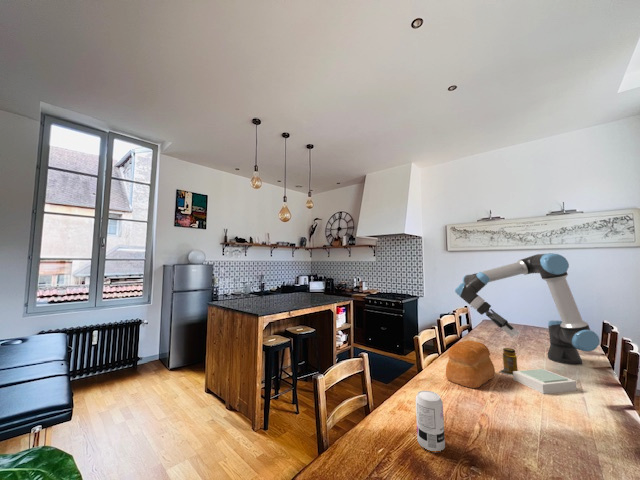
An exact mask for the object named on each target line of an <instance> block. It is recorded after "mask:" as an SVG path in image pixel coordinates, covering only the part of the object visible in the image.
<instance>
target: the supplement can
mask: <svg viewBox="0 0 640 480" xmlns="http://www.w3.org/2000/svg"><path fill="white" fill-rule="evenodd" d="M415 416H416V435H417V440H416V441H417V442H418V444H419V445H420V447H421V448H423V447H424V448H425V449H427V450H430V451H440V452H442V451H443V450H445V448H446V439H445V438H446V437H445V421H444V420H445V418H444V402H443V400H442V398H441V396H440V394H438V393H437V392H434V391H431V390H420V391H418V392H417V394H416V396H415ZM424 448H423V449H424ZM425 449H424V450H425ZM427 450H426V451H427ZM441 450H442V451H441ZM430 451H429V452H430Z"/></svg>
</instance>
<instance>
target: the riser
mask: <svg viewBox="0 0 640 480" xmlns="http://www.w3.org/2000/svg"><path fill="white" fill-rule="evenodd" d="M512 379H513V381H515V382H518V383H520V384H522V385H523V386H526V387H528V388H530V389H532V390H534V391H536V392H537V393H540V394H543V395H546V394H547V395H548V394H556V393H565V392H574V391H578V390H577V389H578V386H577V380H574V379H571V378H569V377H566V376H563V375H561V374H558V373H556V372H553V371H550V370H547V369H545V368H537V369H527V370H526V369H525V370H524V369H523V370H518V371H513V376H512Z"/></svg>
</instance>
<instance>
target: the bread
mask: <svg viewBox="0 0 640 480" xmlns="http://www.w3.org/2000/svg"><path fill="white" fill-rule="evenodd" d="M447 356H448V361H447V363H446V364H445V365H446V366H445V377H446V379H447V380H448V381H449V382H452V383H453V384H457V385H460V386H463V387H467V388H472V389H478V388H480V387H482V385H484V384H485V383H488V382H489V380H492V379H493V378H495V374H496V373H495V369H496V368H495V366H494V363H493V361H492V359H491V357H490V356H491V353H490V350H489V348H488V347H487V345H485V344H484V343H483V342H478V341H474V340H465V341H462V342H460V341H459V342H458V343H455V344H454V345H453V346H452V345H451V347H450V348H449V349H448V355H447Z"/></svg>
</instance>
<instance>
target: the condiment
mask: <svg viewBox="0 0 640 480" xmlns="http://www.w3.org/2000/svg"><path fill="white" fill-rule="evenodd" d="M502 351H503V352H502V360H503V361H502V364H503V369H502V370H499V371H498V372H499V373H501V374H504V375H507V376H510V377H513V371H519V369H518V359H517V355H516V350H515V349H514V348H510V347H504V348H503V349H502Z"/></svg>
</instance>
